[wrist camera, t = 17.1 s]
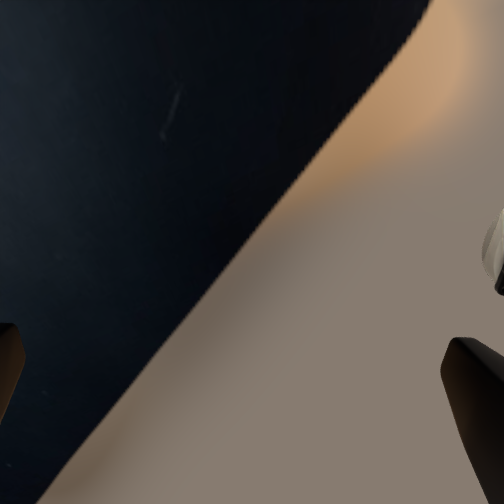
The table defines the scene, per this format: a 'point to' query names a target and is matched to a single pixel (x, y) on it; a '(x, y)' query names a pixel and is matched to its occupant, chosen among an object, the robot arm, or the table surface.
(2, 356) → the robot arm
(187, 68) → the table surface
